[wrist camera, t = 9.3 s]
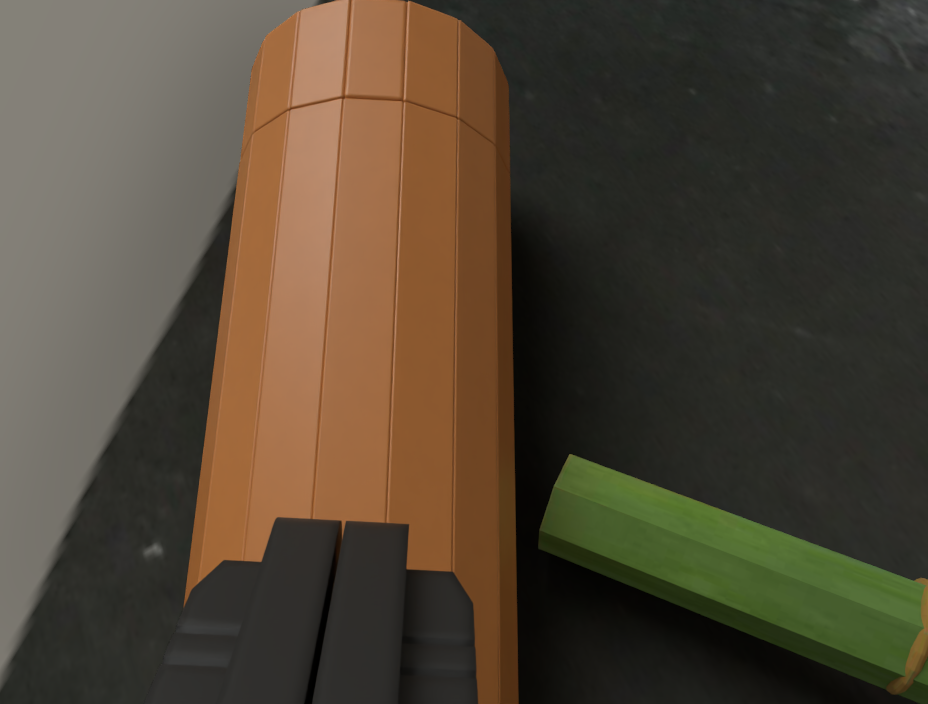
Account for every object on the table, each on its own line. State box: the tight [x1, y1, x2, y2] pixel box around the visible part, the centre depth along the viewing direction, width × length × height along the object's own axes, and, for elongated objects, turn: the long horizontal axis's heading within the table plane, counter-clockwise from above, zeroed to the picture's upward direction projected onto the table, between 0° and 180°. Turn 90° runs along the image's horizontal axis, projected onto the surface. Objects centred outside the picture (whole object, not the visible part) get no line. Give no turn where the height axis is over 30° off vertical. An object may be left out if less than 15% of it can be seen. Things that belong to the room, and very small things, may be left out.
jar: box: [184, 0, 519, 704], centre depth 17 cm, size 6×6×15 cm
